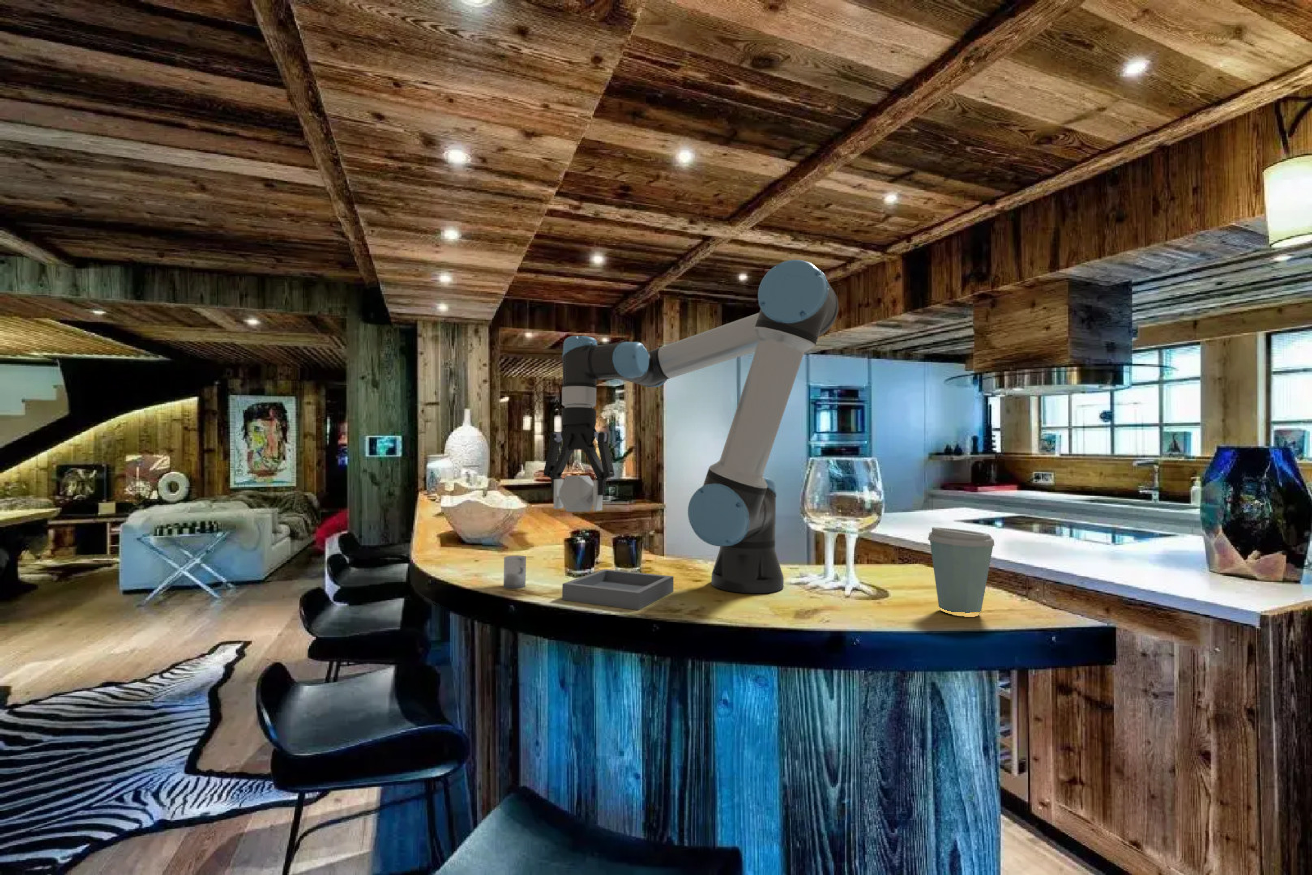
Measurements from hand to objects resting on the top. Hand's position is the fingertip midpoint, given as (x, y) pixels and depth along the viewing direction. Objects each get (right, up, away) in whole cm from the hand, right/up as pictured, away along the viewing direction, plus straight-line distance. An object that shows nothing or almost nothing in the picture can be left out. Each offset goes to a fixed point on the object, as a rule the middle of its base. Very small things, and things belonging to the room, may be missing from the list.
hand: (577, 509), depth 126 cm
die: (0, -1, 0) cm, 1 cm away
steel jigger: (-12, -15, -7) cm, 21 cm away
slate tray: (+10, -15, -14) cm, 23 cm away
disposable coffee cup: (+71, -16, -24) cm, 77 cm away
